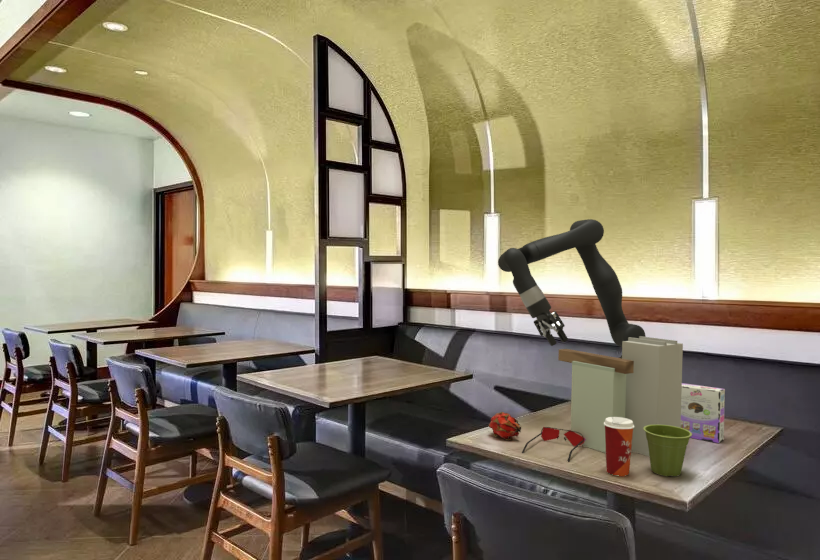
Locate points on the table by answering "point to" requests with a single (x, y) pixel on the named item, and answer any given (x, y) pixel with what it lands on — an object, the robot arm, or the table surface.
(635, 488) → the table surface
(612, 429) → the paper cup
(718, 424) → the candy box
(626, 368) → the walnut bar
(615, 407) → the sage box
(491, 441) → the table surface
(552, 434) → the glasses
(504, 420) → the dragon fruit
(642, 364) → the grey stand
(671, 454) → the plant pot
